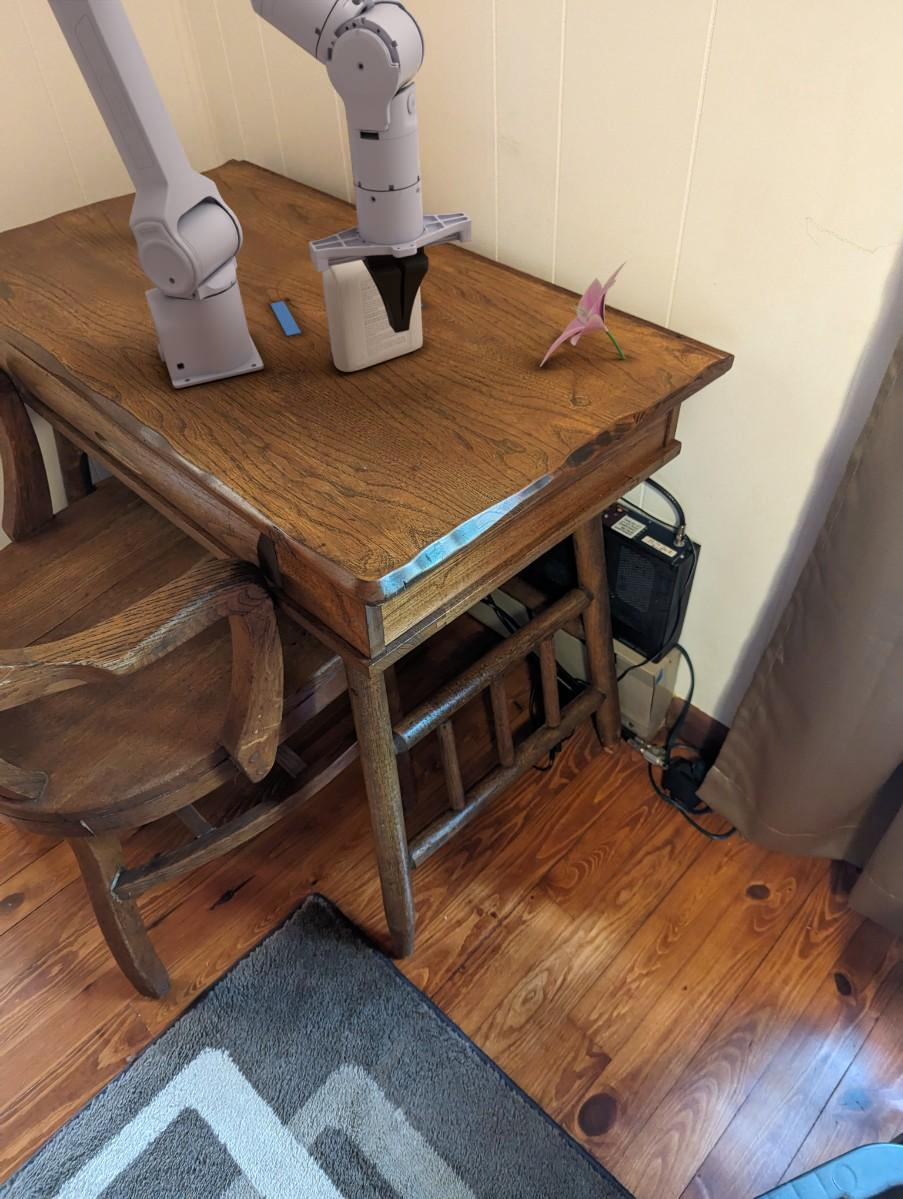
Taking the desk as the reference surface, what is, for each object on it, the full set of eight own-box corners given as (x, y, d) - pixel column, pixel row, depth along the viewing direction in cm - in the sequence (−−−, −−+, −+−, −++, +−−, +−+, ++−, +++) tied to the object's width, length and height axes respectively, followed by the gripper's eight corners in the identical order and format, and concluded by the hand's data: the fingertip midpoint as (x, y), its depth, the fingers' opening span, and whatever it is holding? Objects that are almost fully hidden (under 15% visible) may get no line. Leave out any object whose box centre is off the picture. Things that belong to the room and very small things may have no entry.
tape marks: (287, 336, 97) (287, 335, 97) (270, 304, 102) (270, 303, 102) (423, 306, 100) (423, 305, 100) (400, 277, 106) (400, 276, 106)
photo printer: (409, 332, 96) (401, 219, 88) (429, 348, 94) (423, 234, 85) (326, 361, 93) (309, 247, 84) (346, 379, 90) (330, 263, 81)
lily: (603, 325, 98) (565, 252, 93) (687, 321, 89) (651, 240, 84) (541, 397, 95) (498, 326, 90) (622, 401, 86) (580, 323, 80)
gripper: (316, 211, 69) (338, 364, 79) (484, 180, 72) (485, 329, 82) (294, 180, 73) (317, 328, 83) (453, 152, 77) (457, 297, 87)
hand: (399, 327), depth 83 cm, fingers closed
